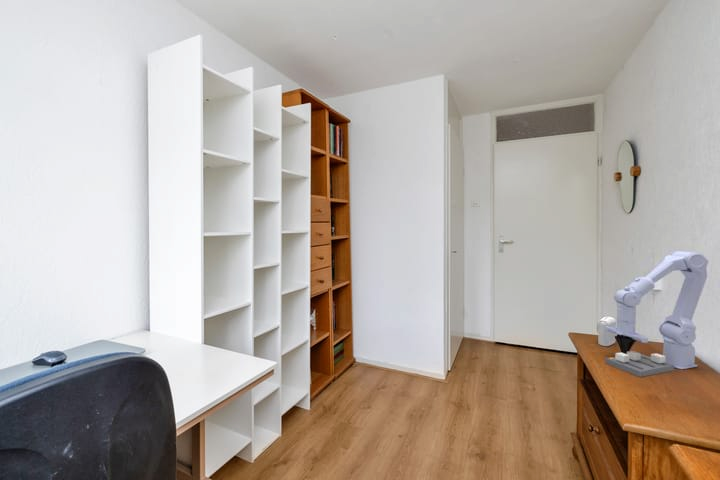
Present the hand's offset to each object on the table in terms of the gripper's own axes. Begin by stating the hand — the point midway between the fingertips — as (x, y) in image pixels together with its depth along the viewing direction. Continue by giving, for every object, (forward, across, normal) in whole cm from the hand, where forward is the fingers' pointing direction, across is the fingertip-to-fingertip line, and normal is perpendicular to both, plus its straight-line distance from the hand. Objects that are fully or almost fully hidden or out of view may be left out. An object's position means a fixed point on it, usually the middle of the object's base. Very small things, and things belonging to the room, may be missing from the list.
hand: (624, 354), depth 128 cm
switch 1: (0, +3, -6) cm, 7 cm away
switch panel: (+3, +5, 0) cm, 6 cm away
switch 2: (0, +8, +6) cm, 10 cm away
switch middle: (0, +3, 0) cm, 3 cm away
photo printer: (+3, -16, +13) cm, 21 cm away
